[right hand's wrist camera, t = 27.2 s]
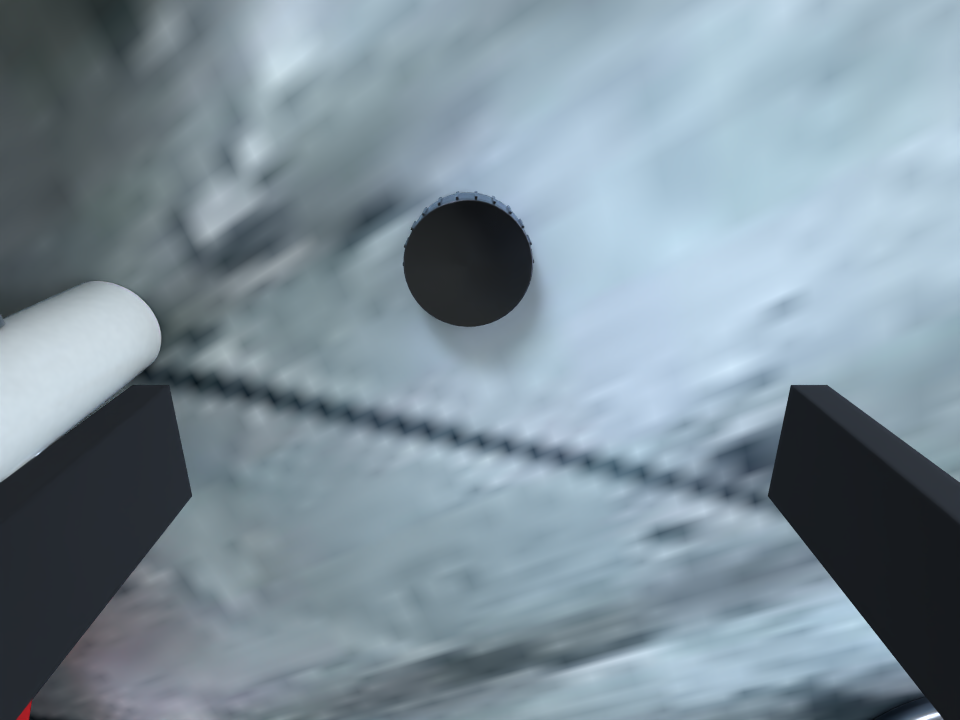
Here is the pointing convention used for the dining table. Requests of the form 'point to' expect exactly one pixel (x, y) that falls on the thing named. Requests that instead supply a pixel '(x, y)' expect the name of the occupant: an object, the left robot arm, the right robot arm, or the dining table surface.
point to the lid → (468, 259)
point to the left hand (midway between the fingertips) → (26, 390)
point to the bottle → (68, 363)
